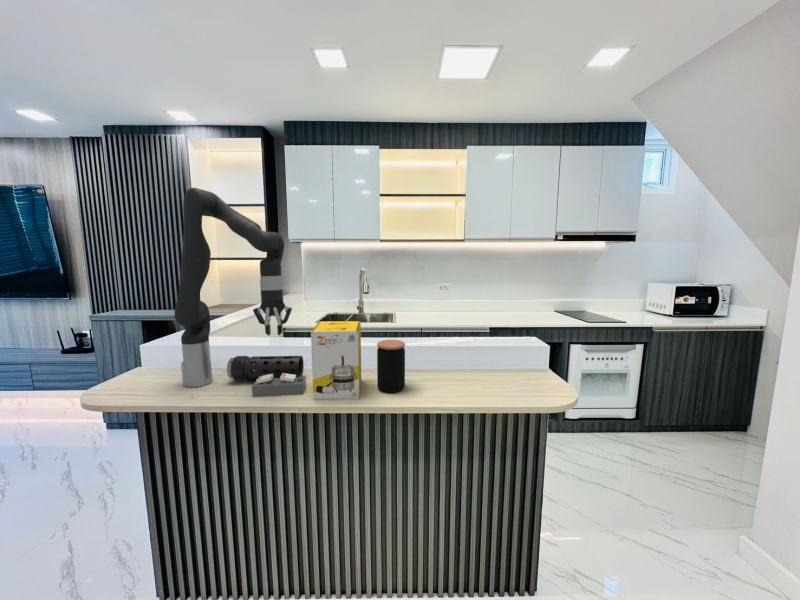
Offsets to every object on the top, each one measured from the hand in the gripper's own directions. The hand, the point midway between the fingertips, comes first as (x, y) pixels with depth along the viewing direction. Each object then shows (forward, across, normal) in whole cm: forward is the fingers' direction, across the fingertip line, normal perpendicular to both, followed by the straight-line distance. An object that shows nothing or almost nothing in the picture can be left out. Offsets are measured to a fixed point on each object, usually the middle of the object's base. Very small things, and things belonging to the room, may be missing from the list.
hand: (274, 334), depth 121 cm
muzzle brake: (+23, -7, +12) cm, 26 cm away
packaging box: (+22, +23, -1) cm, 32 cm away
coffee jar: (+22, +43, -2) cm, 48 cm away
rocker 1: (+18, -4, 0) cm, 18 cm away
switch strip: (+22, +1, 0) cm, 22 cm away
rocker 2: (+18, +4, 0) cm, 18 cm away
